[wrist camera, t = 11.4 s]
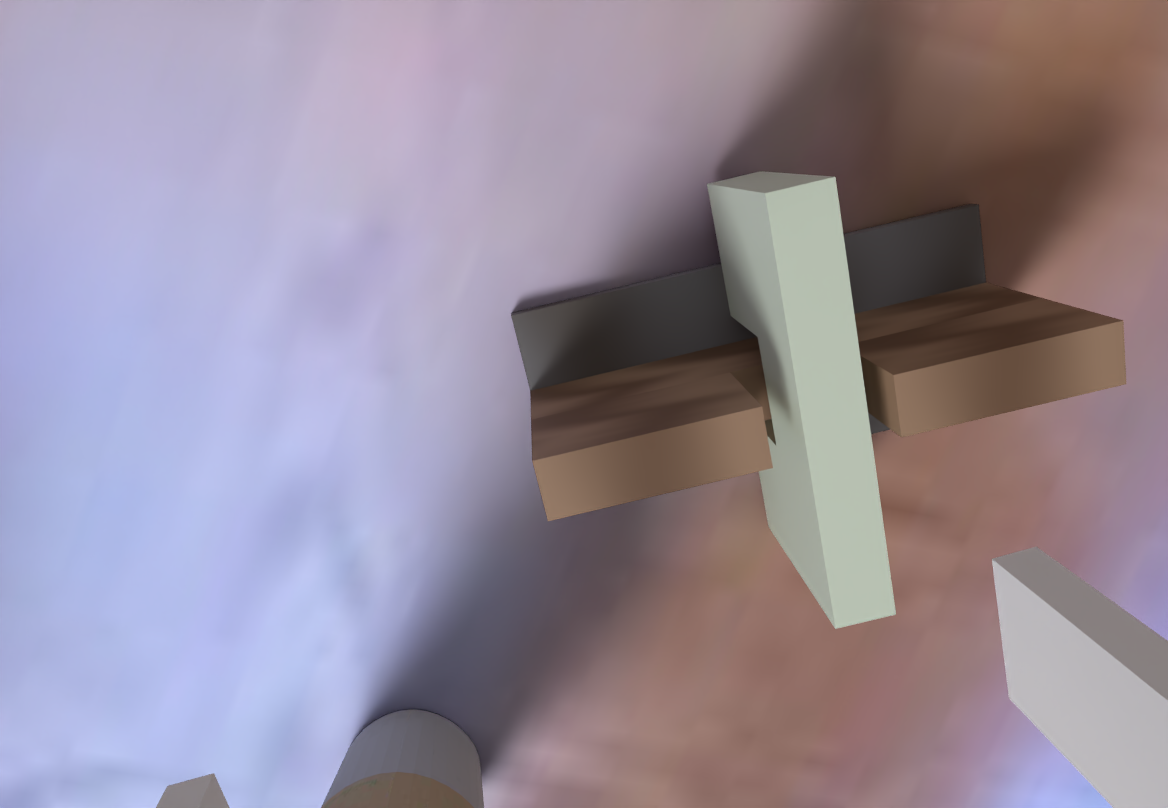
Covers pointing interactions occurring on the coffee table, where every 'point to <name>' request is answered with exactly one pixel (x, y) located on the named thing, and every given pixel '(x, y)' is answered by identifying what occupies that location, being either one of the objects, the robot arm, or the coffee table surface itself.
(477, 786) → the coffee cup
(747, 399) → the brown piece
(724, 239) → the pale green upright panel
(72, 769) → the coffee table surface
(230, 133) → the coffee table surface
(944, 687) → the coffee table surface
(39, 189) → the coffee table surface
